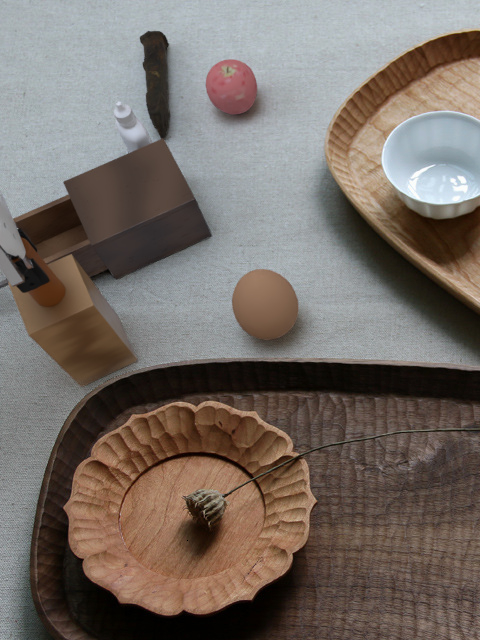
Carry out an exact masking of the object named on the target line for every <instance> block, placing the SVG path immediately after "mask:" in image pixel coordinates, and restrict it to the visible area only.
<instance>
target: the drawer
mask: <svg viewBox="0 0 480 640" xmlns="http://www.w3.org/2000/svg"><path fill="white" fill-rule="evenodd" d="M12 218H13V217H12ZM13 220H14V221H15V223H16V225H17V229H19V228H21V229H22V231H23V232H24V233H25V234H26V235H27V237H28V238H29V239H30V240H31V241H32V243H33V244H34V245H35V246H36V248H37V253H38V255H39V256H40V257H41V258H42V259H43V261H44V262H45V263H46V264H47V265H48V264H50V263H52V262H55V261H57V260H59V259H61V258H64V257H66V256H68V255H70V254H72V255H73V257H74V258H75V259H76V261H77V262H78V263H79V264H80V266H81V267H82V268H83V270H84V271H85V272H86V274H87V275H88V276H89V278H91V277H94V276H97V275H98V274H100V273H102V272H105V271H107V270H109V269H108V268H107V266H106V265H105V264H104V262H103V261H102V259H101V258H100V257H99V255H98V254H97V252H96V251H95V250H94V248H93V247H92V245H91V243H90V241H89V239H88V236H87V234H86V232H85V230H84V227H83V225H82V223H81V221H80V219H79V216H78V214H77V212H76V210H75V207H74V205H73V203H72V201H71V199H70V196H69V194H68V193H67V194H66V195H64V196H62V197H60V198H57V199H55V200H52V201H50V202H48V203H45V204H43V205H41V206H38V207H36V208H35V209H32V210H29V211H27V212H25V213H22V214H21V215H18V216H16V217H14V218H13ZM8 282H9V281H8V280H7V278H5V279H3V280H1V281H0V290H1V289H3V288H5V287H7V286H9V284H8Z"/></svg>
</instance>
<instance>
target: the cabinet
mask: <svg viewBox="0 0 480 640" xmlns="http://www.w3.org/2000/svg"><path fill="white" fill-rule="evenodd" d="M152 142H153V143H151V144H149V145H146V146H144V147H142V148H139V149H137V150H135V151H133V152H130V153H129V152H128V153H126V154H124V155H121V156H119V157H117V158H114V159H112V160H110V161H107V162H106V163H105V162H104V163H103V164H101V165H98V166H96V167H94V168H92V169H89V170H87V171H84V172H82V173H80V174H77V175H74V176H73V177H71V178H68V179H66V180H64V181H63V185H64V187H65V190H66V192H67V195H68V194H69V196H70V199H71V201H72V203H73V205H74V207H75V210H76V212H77V214H78V216H79V219H80V221H81V223H82V225H83V227H84V230H85V232H86V234H87V236H88V239H89V241H90V243H91V245H92V247H93V248H94V250H95V251H96V252H97V254H98V255H99V257H100V258H101V259H102V261H103V262H104V264H105V265H106V266H107V268H108V269H107V270H108V271H109V272H110V274H111V275H112V277H113V278H114V280H115V281H117V280H119V279H121V278H123V277H126V276H127V275H130V274H132V273H134V272H137V271H139V270H141V269H142V268H145V267H148V266H149V265H152V264H154V263H157V262H158V261H160V260H161V261H162V259H164V258H167V257H169V256H172V255H174V254H176V253H178V252H180V251H182V250H184V249H186V248H189V247H191V246H193V245H195V244H197V243H200V242H202V241H203V240H206V239H209V238H211V237H213V234H212V232H211V230H210V228H209V226H208V223H207V221H206V219H205V217H204V214H203V212H202V210H201V207H200V205H199V204H198V201H197V199H196V197H195V195H194V194H193V192H192V190H191V189H192V188H191V187H190V186H189V184H188V181H187V180H186V178H185V176H184V175H183V172H182V170H181V168H180V166H179V165H178V163H177V161H176V159H175V158H174V155H173V153H172V152H171V149H170V147H169V145H168V144H167V142H166V140H165V139H164V138H162V139H161V138H160V139H157V140H156V141H152Z"/></svg>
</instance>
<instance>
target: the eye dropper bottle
mask: <svg viewBox="0 0 480 640" xmlns="http://www.w3.org/2000/svg"><path fill="white" fill-rule="evenodd" d="M115 105H116V107H115V108H114V110H113V115H114V117H115V121H114V122H115V123H114V124H115V127H116V130H117V132H118V134H119V135H120V139H122V141H123V143H124V145H125V147H126V149H127V151H128V153H130V152H133V151H135V150H137V149H139V148H142V147H144V146H146V145H149V144H151V143H153V142H154V141H152V138H151V136H150V134H149V132H148V130H147V128H146V126H145V124H144V123H143V121H141V119H140V118H139V117H137V116H135V115H136V114H135V113H134V112H133V109H132V108H131V106H130V105H128V104H126V103H125V104H124V103H122V102H121V101H117V102H116V103H115Z"/></svg>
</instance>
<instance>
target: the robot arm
mask: <svg viewBox="0 0 480 640" xmlns="http://www.w3.org/2000/svg"><path fill="white" fill-rule="evenodd" d="M21 237H22V238H24V239H26V240H27V241H28V242H29V244H30V245H31V246H32V247H33V248H34V250H35V251H36V252H37V248H36V246H35V245H34V244H33V243H32V241H31V240H30V239H29V238H28V237H27V235H26V234H25V233H24V232H23V231H22V229H21V228H19V229H18V228H17V225H16V223H15V221H14V220H13V216H12V213H11V210H10V207H9V206H8V203H7V201H6V199H5V197H4V195H3V193H2V192H1V190H0V271H1V272H2V274H3V276H4V277H5V279H7V280H8V281H9V283H10V284H11V285H12V287H14V286H17V288H18V289H19V290H20V291H21V292H22V293H26V292H29V291H31V290H34V289H36V288H38V287H40V286H42V285H44V284H46V283H48V282H49V281H50V280H49V277H48V276H47V274H46V273H45V272H44V271H43V270H42V268H41V267H40V266H39V265H38V264H37V263H36V261H35V260H34V259H33V258H32V259H29V258H28V257H27V255H26V251H25V248H24V245H23V242H22V240H21ZM14 256H18V258H20V260H19V261H17V262H13V261H12V259H11V258H12V257H14Z"/></svg>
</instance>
